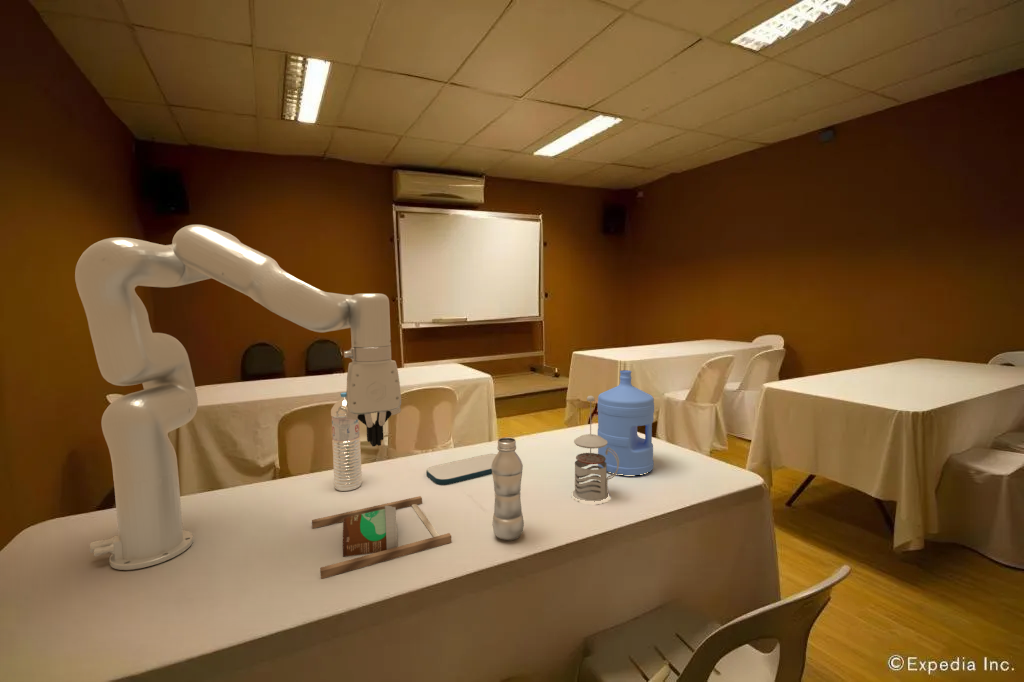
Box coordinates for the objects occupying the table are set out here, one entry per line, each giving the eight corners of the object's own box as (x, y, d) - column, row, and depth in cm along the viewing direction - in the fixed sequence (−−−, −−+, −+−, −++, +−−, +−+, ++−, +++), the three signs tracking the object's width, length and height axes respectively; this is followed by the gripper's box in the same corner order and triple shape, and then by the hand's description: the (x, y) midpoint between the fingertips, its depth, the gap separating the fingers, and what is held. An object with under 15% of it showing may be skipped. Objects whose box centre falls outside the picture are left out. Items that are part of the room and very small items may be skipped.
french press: (575, 485, 115) (574, 390, 113) (620, 491, 111) (621, 393, 109) (566, 501, 106) (566, 398, 104) (615, 508, 102) (616, 401, 100)
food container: (345, 501, 93) (394, 494, 96) (346, 529, 94) (395, 521, 97) (341, 529, 82) (396, 520, 85) (342, 560, 82) (398, 551, 85)
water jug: (592, 473, 123) (592, 373, 121) (603, 455, 137) (603, 366, 135) (650, 481, 117) (651, 376, 115) (655, 461, 131) (656, 368, 129)
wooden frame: (321, 578, 77) (320, 571, 77) (312, 526, 95) (311, 519, 95) (451, 542, 88) (451, 535, 88) (420, 501, 107) (420, 496, 107)
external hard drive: (494, 458, 137) (494, 452, 137) (515, 469, 128) (515, 463, 128) (422, 475, 125) (422, 468, 125) (439, 489, 115) (439, 481, 115)
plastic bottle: (496, 547, 86) (495, 446, 85) (489, 530, 93) (487, 436, 91) (528, 541, 88) (527, 443, 86) (518, 525, 94) (517, 434, 93)
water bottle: (353, 493, 112) (348, 396, 110) (328, 491, 114) (324, 395, 112) (367, 482, 119) (363, 390, 117) (344, 480, 120) (340, 390, 118)
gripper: (334, 359, 82) (338, 456, 83) (413, 354, 89) (416, 443, 90) (329, 355, 89) (334, 445, 90) (404, 351, 96) (406, 434, 97)
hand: (375, 444), depth 90 cm, fingers closed
